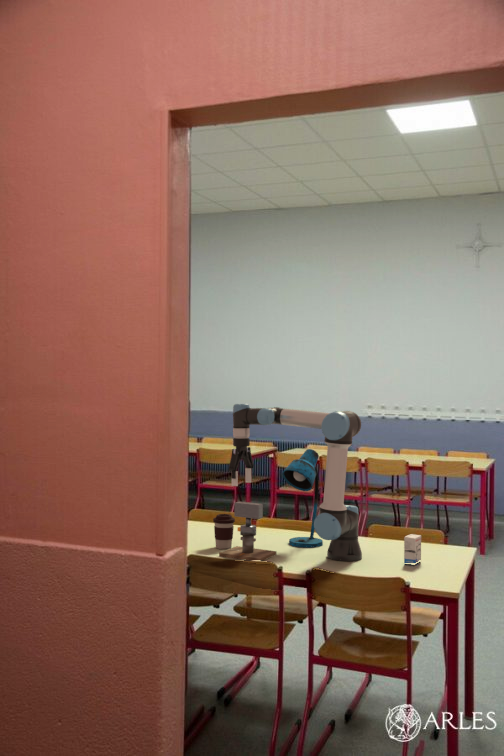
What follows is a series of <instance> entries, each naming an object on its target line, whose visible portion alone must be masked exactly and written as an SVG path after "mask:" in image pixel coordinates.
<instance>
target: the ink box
mask: <svg viewBox="0 0 504 756" xmlns="http://www.w3.org/2000/svg"><path fill="white" fill-rule="evenodd" d="M403 542H404V543H403V546H404V547H403V549H404V550H403V551H404V553H403V561H404V563H416V562H418V561H419V560H421V561H422V535H421V534H415V533H411V534H408V535H405V536H404V538H403ZM404 563H403V564H404Z"/></svg>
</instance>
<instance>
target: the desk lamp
mask: <svg viewBox="0 0 504 756" xmlns="http://www.w3.org/2000/svg"><path fill="white" fill-rule="evenodd" d="M318 460H319V453H318V452H317V451H316V450H314V449H312V448H307V449H306V450H305V451H304V452H303V454H302V455H301V456H300V457H299V458H298V459H292V461H291V462H290V463H289V465H288V466H287V467H285V468H284V470H283V471H282V473H281V475H282V478H283V479H284V481H285V482H286V483H287V484H288V485H289V486H291V487H292V488H294V489H296V490H298V491H301V492H302V491H303V492H309V491H311V490H312V489H313V486H314V496H313V498H314V499H313V510H312V519H311V527H310V534H309V535H310V536H298V537H297V536H296V537H295V536H294V537H292V538H290V539H289V541H288V544H289V546H291V545H292V546H291V547H296V548H303V549H304V548H305V549H313V548H320V547H322V546H323V545H324V541H323V539H322V538H321V539H320V538H318V537H315V535H314V534H315V529H314V520H315V518H316V517H317V512H318V511H317V510H318V501H319V500H318V499H319V498H318V497H319V471H318V468H317V466H316V464H317V462H318Z"/></svg>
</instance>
